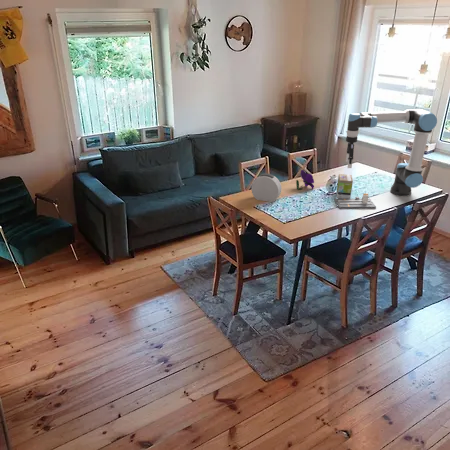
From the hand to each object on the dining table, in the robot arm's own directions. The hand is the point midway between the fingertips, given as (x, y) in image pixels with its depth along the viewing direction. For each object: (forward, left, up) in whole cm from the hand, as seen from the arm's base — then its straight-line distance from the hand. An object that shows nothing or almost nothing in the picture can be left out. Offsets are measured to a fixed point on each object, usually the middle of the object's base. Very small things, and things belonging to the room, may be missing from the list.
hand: (348, 165), depth 305 cm
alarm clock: (+59, -1, -27) cm, 65 cm away
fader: (-12, +10, -25) cm, 30 cm away
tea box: (-1, -8, -27) cm, 28 cm away
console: (-5, +10, -27) cm, 29 cm away
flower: (+27, -22, -27) cm, 44 cm away
